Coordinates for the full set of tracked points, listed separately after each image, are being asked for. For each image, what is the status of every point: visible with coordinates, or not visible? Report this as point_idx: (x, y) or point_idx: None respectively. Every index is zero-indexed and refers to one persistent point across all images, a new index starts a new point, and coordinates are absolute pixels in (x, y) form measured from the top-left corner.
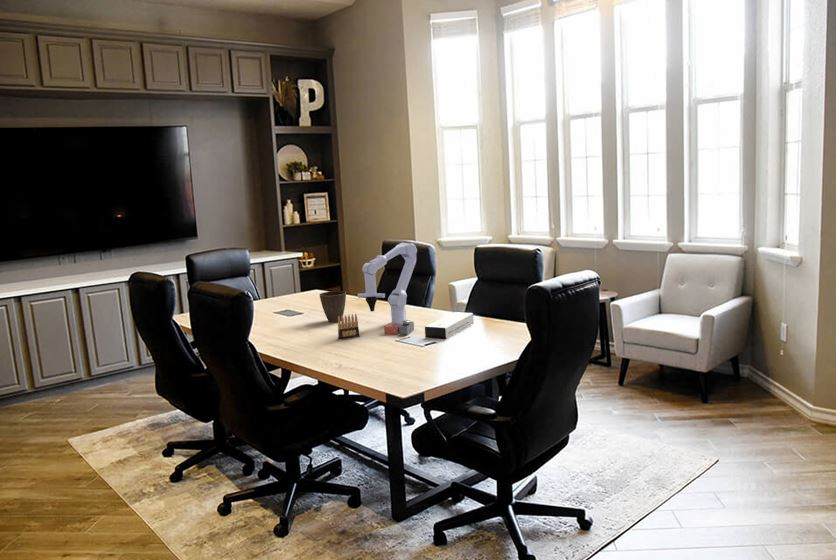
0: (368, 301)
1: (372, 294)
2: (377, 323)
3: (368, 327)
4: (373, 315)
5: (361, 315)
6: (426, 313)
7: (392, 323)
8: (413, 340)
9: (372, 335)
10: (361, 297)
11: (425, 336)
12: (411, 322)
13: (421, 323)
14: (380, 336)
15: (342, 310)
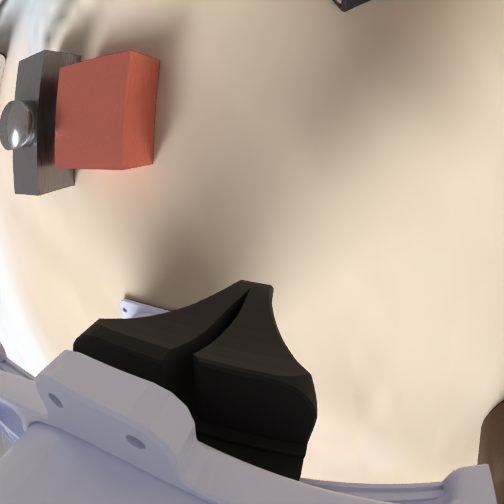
0: (245, 350)
1: (35, 430)
2: None
3: (334, 273)
4: (335, 481)
5: (387, 482)
6: None
7: (101, 167)
8: (35, 5)
9: (237, 23)
10: (417, 484)
11: (2, 53)
12: (16, 169)
13: (67, 311)
14: (175, 10)
15: (495, 454)
